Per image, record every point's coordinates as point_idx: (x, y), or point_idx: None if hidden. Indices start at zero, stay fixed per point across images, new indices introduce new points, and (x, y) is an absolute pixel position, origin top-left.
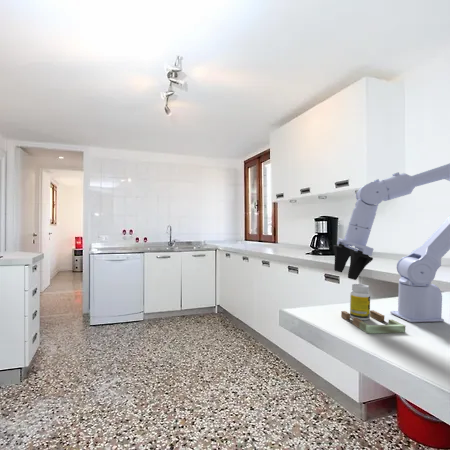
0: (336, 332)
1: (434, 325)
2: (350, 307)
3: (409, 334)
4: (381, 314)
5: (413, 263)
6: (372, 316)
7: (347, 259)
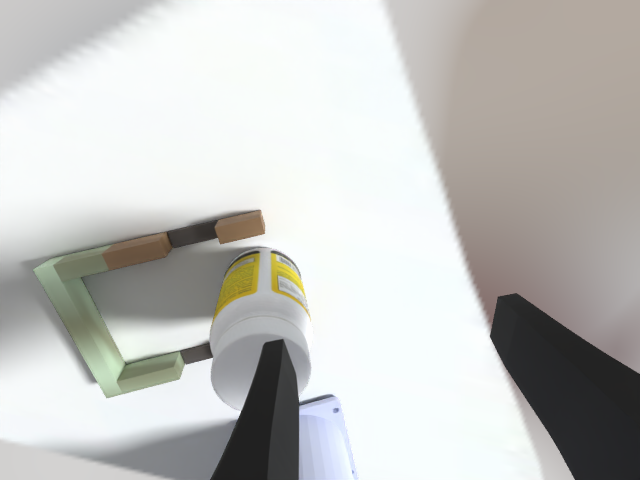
0: (14, 128)
1: None
2: (261, 262)
3: None
4: None
5: None
6: None
7: (571, 470)
